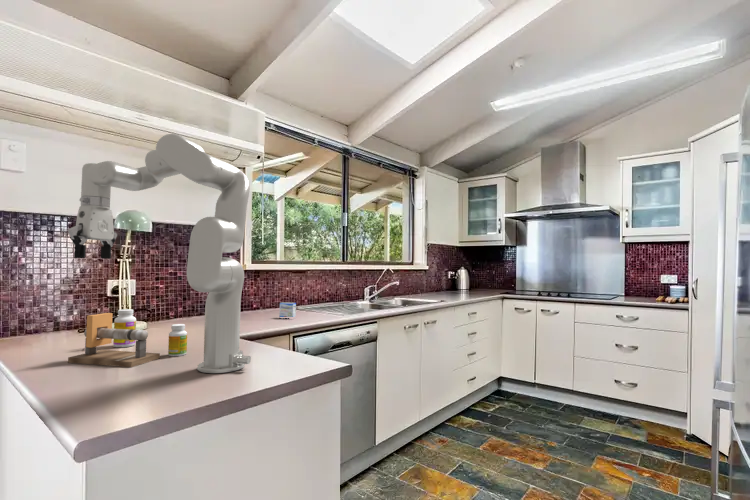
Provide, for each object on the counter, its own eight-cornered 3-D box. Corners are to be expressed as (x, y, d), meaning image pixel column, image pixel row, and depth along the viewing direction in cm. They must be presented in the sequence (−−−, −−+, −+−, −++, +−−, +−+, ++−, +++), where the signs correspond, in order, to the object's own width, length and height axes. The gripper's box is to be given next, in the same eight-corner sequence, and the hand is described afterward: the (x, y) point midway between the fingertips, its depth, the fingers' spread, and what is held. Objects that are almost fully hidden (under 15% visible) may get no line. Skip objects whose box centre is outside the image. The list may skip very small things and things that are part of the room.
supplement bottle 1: (124, 348, 137) (125, 311, 137) (108, 347, 138) (109, 310, 139) (139, 344, 143) (140, 309, 144) (124, 343, 145) (125, 308, 145)
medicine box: (279, 319, 213) (279, 302, 214) (282, 317, 218) (282, 302, 218) (292, 319, 212) (293, 303, 212) (295, 318, 216) (296, 302, 217)
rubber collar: (111, 343, 125) (112, 313, 125) (91, 347, 118) (92, 316, 118) (106, 342, 125) (107, 312, 126) (85, 347, 118) (87, 315, 119)
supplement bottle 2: (181, 356, 126) (182, 326, 126) (164, 356, 126) (165, 325, 126) (189, 353, 131) (190, 323, 131) (173, 352, 131) (174, 323, 132)
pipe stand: (159, 358, 123) (160, 327, 124) (131, 367, 113) (132, 333, 113) (100, 354, 128) (101, 324, 128) (68, 362, 117) (69, 329, 117)
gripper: (82, 199, 115) (80, 258, 114) (127, 207, 132) (125, 259, 131) (59, 199, 116) (56, 257, 115) (106, 207, 133) (104, 258, 132)
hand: (93, 258), depth 123 cm, fingers open, 9 cm apart
